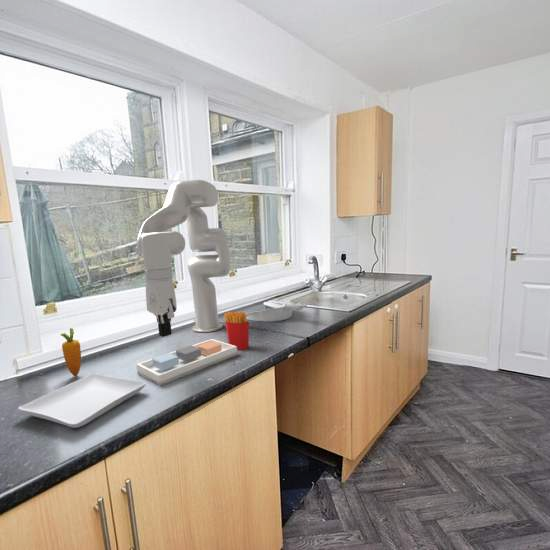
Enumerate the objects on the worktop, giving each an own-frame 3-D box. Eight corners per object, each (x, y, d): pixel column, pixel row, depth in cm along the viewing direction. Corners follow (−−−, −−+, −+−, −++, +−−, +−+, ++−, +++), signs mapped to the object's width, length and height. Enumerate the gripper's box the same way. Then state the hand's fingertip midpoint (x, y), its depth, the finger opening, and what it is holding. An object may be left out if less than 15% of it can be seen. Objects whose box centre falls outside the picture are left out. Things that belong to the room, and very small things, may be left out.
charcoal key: (176, 357, 111) (175, 350, 110) (191, 352, 115) (191, 345, 114) (186, 361, 107) (185, 354, 107) (201, 356, 111) (200, 348, 111)
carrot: (71, 381, 104) (64, 332, 102) (63, 378, 106) (55, 331, 104) (88, 374, 108) (81, 328, 106) (79, 372, 110) (72, 326, 108)
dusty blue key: (153, 366, 105) (152, 358, 105) (169, 360, 109) (168, 352, 109) (162, 370, 101) (161, 362, 101) (179, 364, 105) (178, 356, 105)
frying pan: (278, 309, 177) (276, 291, 176) (326, 320, 152) (325, 298, 150) (240, 319, 163) (238, 299, 162) (286, 332, 137) (284, 309, 136)
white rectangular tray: (137, 373, 106) (136, 364, 106) (212, 346, 126) (211, 338, 125) (159, 385, 96) (158, 375, 96) (237, 354, 116) (236, 346, 116)
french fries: (252, 346, 123) (249, 311, 121) (245, 350, 119) (242, 314, 118) (231, 343, 128) (228, 309, 126) (224, 347, 124) (221, 312, 122)
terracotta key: (198, 352, 117) (197, 346, 116) (211, 347, 121) (211, 341, 120) (207, 356, 113) (207, 349, 112) (221, 351, 117) (221, 344, 116)
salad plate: (149, 392, 93) (148, 380, 93) (77, 438, 74) (74, 423, 74) (95, 383, 102) (93, 372, 102) (17, 421, 83) (15, 408, 83)
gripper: (135, 275, 104) (142, 334, 107) (159, 278, 94) (167, 343, 97) (158, 272, 110) (164, 328, 112) (183, 274, 100) (190, 336, 102)
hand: (165, 335), depth 104 cm, fingers closed
